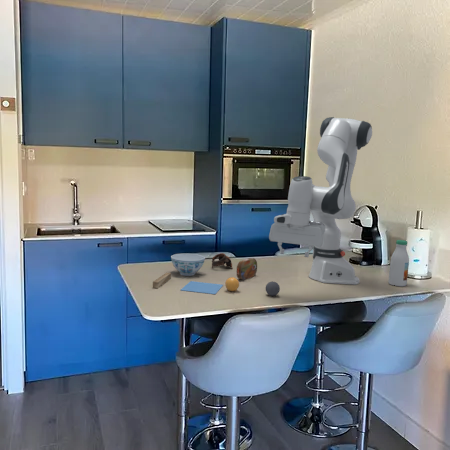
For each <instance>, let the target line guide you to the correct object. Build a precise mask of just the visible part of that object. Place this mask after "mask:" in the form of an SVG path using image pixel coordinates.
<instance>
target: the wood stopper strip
mask: <svg viewBox="0 0 450 450" xmlns="http://www.w3.org/2000/svg"><path fill="white" fill-rule="evenodd" d="M171 279H172V272H166V273H165V272H164V274H162V275H160V276H159V277H158V278H157V279H155V280H153V281H152V288H153V289H159V288H160V287H162V286H163V285H164V284H166V283H168V281H170V280H171Z"/></svg>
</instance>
